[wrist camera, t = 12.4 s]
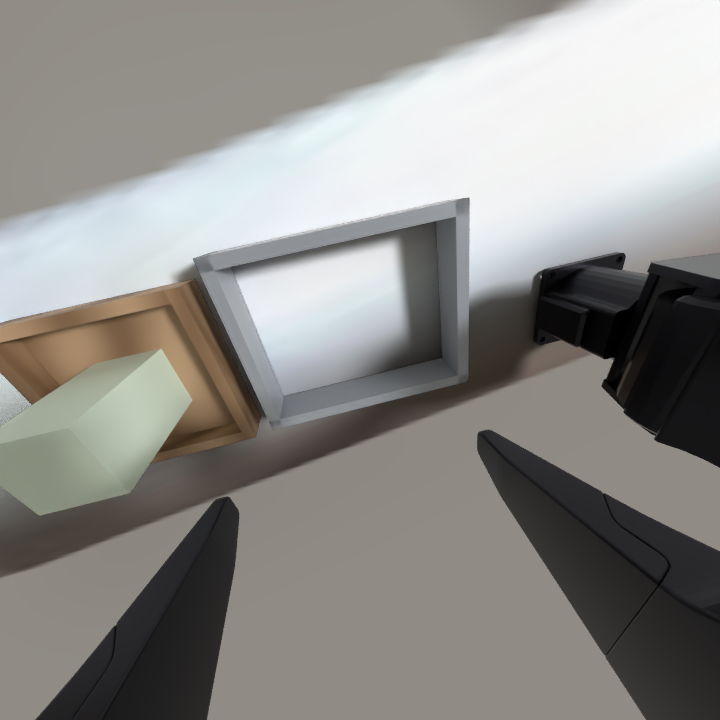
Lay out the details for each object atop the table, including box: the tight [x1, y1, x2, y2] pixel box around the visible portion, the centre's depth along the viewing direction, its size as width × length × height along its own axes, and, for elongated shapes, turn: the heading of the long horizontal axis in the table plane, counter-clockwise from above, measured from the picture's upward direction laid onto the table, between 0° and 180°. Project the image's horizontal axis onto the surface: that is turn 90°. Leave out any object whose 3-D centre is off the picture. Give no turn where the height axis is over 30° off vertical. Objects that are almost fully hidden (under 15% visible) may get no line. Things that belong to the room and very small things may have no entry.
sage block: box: [0, 349, 192, 516], centre depth 16 cm, size 4×4×8 cm
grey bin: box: [193, 198, 469, 430], centre depth 19 cm, size 16×13×3 cm
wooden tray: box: [0, 279, 261, 464], centre depth 19 cm, size 12×12×2 cm
